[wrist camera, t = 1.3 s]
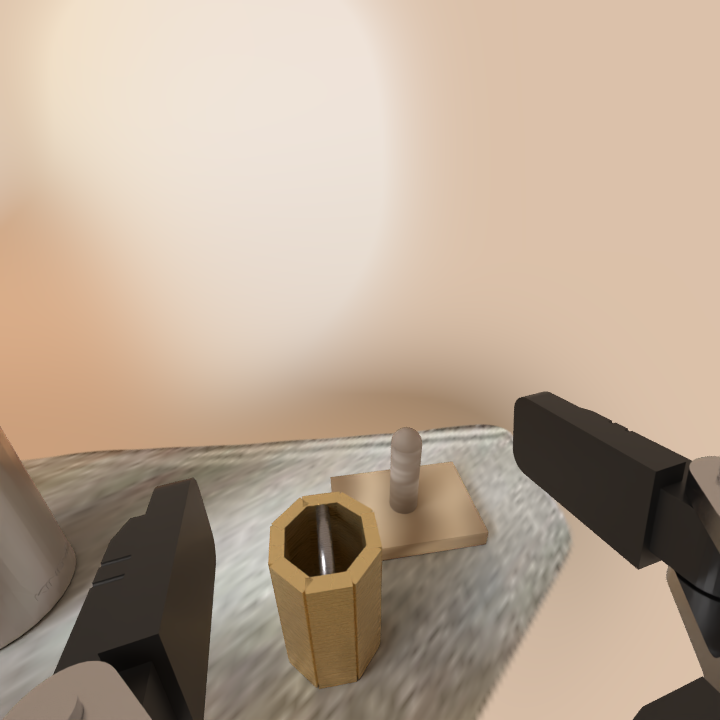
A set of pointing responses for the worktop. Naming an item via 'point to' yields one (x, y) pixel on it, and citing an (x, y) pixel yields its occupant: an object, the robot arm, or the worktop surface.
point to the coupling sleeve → (328, 586)
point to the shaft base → (416, 502)
